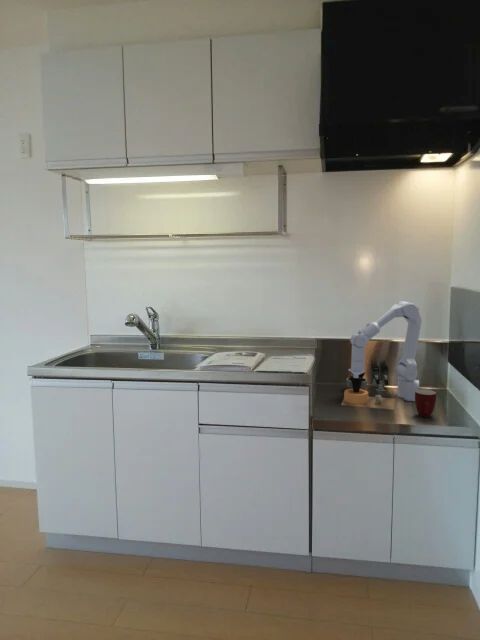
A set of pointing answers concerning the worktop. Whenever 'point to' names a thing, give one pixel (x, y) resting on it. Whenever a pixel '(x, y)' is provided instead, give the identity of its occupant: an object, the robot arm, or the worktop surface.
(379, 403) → the shelf plate
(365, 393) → the orange notched ring
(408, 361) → the robot arm
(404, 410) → the worktop surface
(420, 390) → the mug
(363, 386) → the mortar and pestle
